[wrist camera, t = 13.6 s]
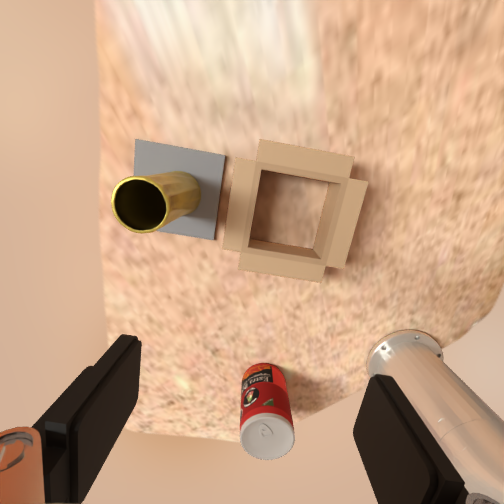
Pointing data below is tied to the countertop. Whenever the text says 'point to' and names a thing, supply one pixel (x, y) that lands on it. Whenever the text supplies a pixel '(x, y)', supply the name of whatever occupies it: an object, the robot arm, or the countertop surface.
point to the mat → (198, 166)
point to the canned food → (265, 413)
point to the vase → (154, 200)
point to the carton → (331, 223)
